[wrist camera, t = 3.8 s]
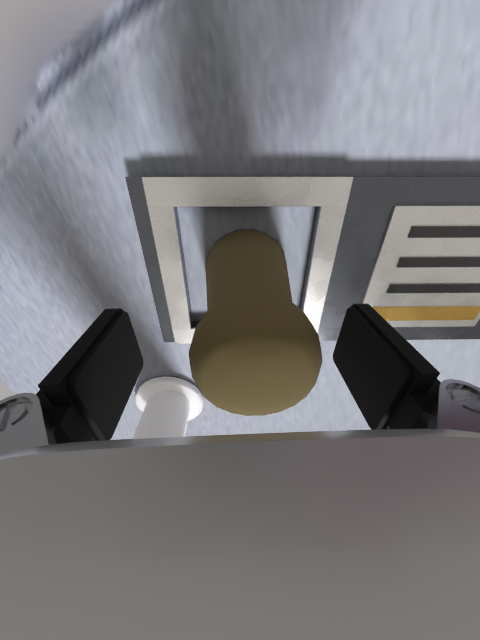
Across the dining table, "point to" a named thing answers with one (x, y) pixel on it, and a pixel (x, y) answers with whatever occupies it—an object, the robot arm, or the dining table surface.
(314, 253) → the panel
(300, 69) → the dining table surface
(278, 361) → the cork
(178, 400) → the candle
